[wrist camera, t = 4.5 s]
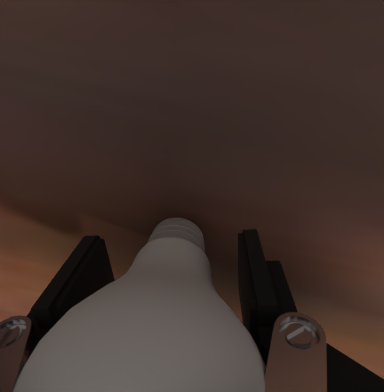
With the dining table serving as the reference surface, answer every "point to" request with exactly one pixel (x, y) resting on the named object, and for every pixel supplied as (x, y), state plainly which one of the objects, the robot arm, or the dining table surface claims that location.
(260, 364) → the lightbulb
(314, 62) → the dining table surface
